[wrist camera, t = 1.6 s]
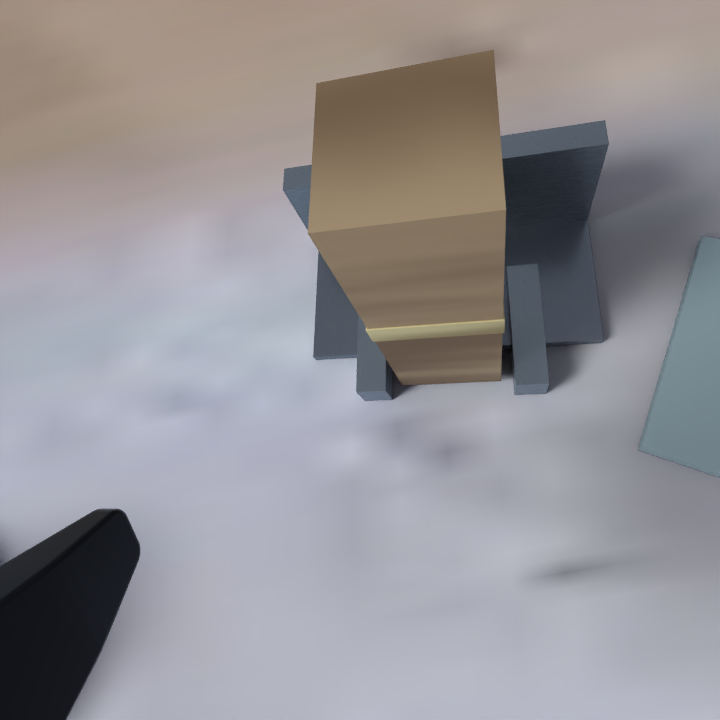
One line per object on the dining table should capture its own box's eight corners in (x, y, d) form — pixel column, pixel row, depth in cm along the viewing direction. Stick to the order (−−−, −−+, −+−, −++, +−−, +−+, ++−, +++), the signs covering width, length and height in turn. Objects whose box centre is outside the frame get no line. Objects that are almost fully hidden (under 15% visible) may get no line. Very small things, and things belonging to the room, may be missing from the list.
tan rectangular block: (502, 381, 21) (508, 211, 10) (401, 386, 22) (305, 235, 11) (496, 289, 22) (495, 47, 11) (400, 297, 23) (314, 82, 12)
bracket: (608, 391, 20) (640, 348, 16) (314, 402, 23) (269, 369, 19) (583, 203, 23) (605, 120, 18) (322, 234, 26) (284, 168, 21)
